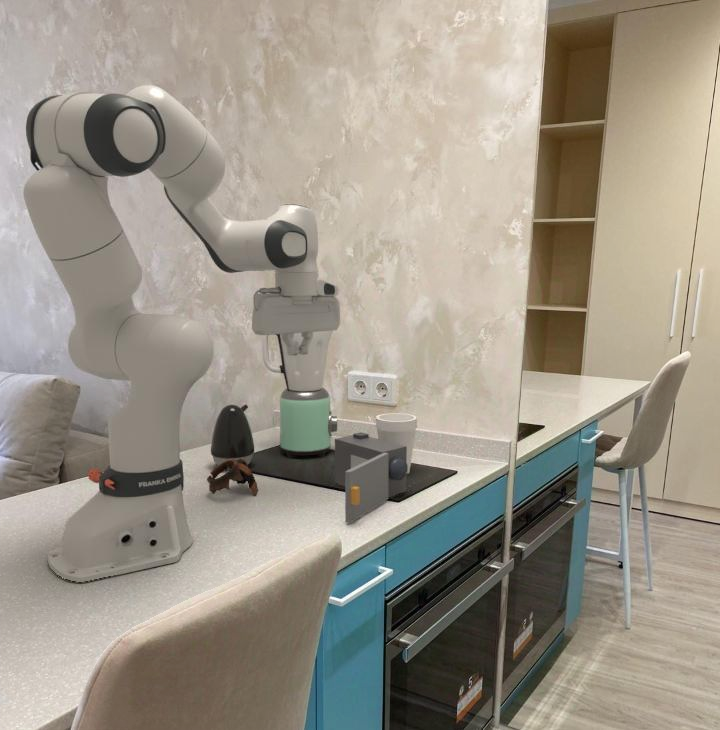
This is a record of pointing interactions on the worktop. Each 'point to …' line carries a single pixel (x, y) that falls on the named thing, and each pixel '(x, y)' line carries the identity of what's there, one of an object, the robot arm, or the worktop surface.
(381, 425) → the foam cup
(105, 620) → the worktop surface
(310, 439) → the green blender
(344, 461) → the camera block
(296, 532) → the worktop surface
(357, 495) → the side door
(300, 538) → the worktop surface
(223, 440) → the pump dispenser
